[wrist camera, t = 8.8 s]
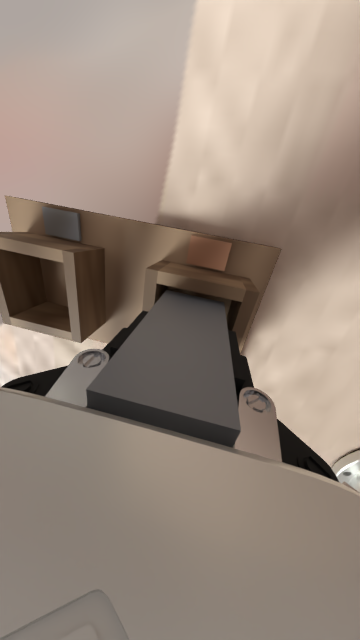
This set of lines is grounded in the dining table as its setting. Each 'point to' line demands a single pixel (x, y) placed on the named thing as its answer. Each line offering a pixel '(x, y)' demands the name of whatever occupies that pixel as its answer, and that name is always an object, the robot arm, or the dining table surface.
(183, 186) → the dining table surface
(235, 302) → the socket board
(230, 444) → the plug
